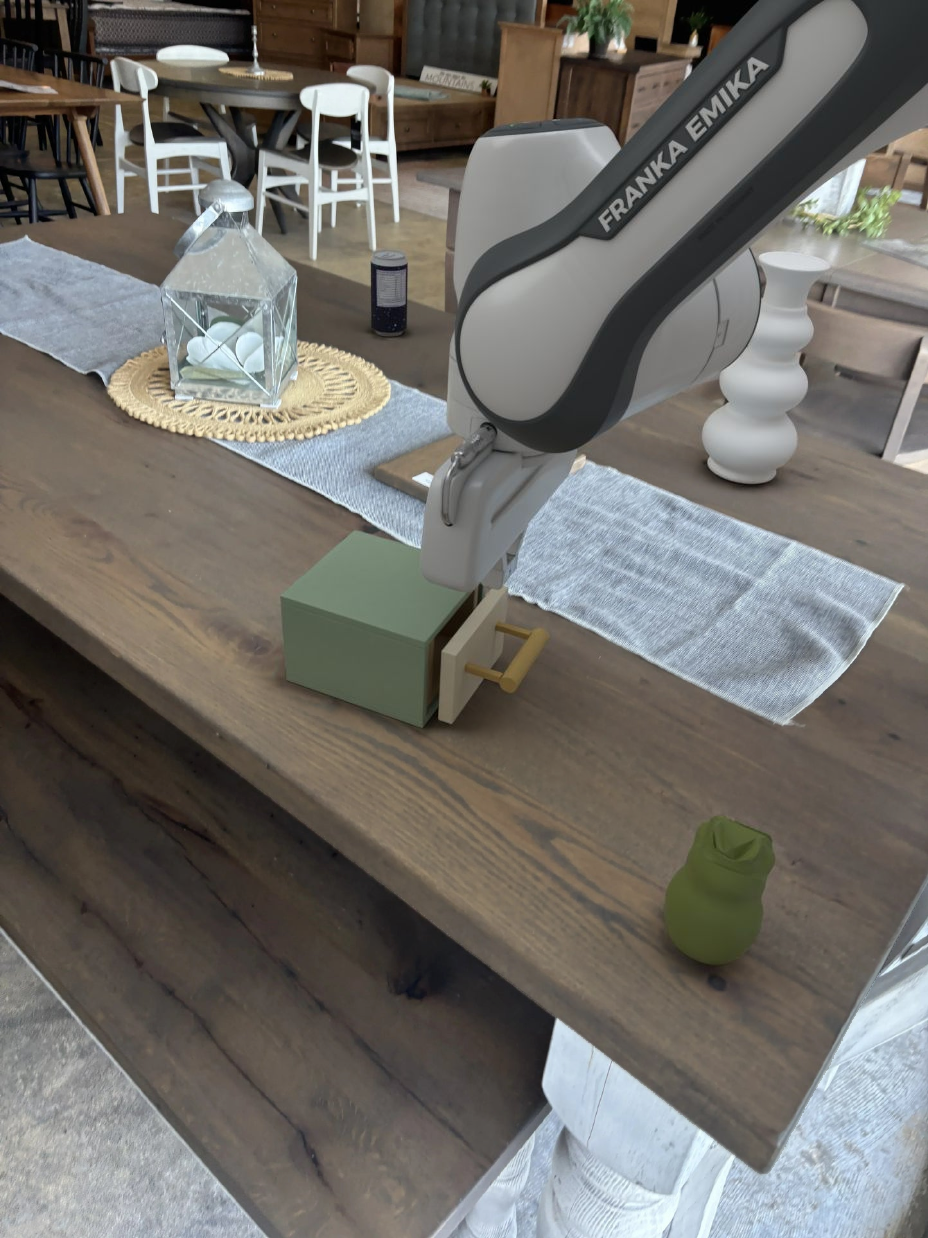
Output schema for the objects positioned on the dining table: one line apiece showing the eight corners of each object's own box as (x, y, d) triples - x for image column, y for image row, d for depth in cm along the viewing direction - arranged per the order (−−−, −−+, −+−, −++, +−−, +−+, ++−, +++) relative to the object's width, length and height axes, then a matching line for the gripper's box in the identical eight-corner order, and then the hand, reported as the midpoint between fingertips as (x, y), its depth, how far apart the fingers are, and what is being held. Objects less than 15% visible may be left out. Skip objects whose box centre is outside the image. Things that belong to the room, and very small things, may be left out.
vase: (789, 463, 113) (849, 253, 98) (783, 501, 104) (848, 277, 90) (701, 446, 116) (747, 239, 101) (688, 481, 107) (737, 261, 93)
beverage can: (413, 331, 146) (414, 253, 139) (394, 340, 142) (395, 260, 135) (383, 324, 148) (383, 246, 141) (364, 333, 144) (363, 254, 137)
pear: (643, 953, 55) (674, 843, 49) (673, 892, 59) (704, 783, 53) (733, 998, 53) (776, 889, 47) (758, 932, 57) (801, 823, 51)
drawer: (550, 667, 76) (559, 601, 72) (503, 742, 68) (511, 673, 64) (384, 615, 80) (384, 550, 77) (323, 680, 73) (320, 611, 69)
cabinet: (481, 649, 79) (487, 567, 74) (422, 728, 70) (425, 642, 65) (356, 609, 82) (354, 529, 78) (286, 680, 74) (279, 595, 69)
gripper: (498, 474, 50) (481, 670, 58) (607, 362, 65) (581, 529, 73) (396, 448, 52) (393, 641, 60) (525, 345, 67) (509, 509, 75)
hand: (497, 578), depth 67 cm, fingers closed
